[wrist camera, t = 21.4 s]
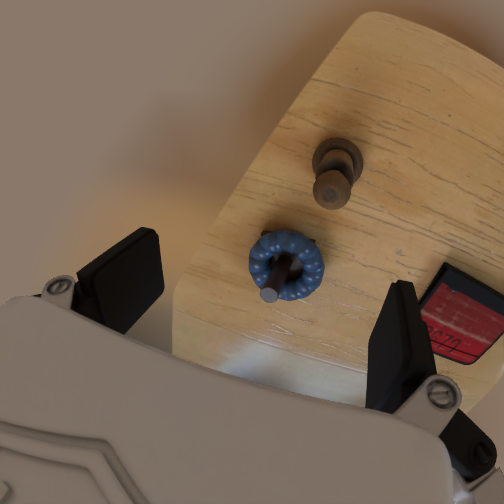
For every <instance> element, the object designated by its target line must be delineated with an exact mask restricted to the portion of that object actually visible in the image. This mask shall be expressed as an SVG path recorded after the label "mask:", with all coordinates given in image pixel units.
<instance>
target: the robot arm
mask: <svg viewBox="0 0 504 504" xmlns="http://www.w3.org/2000/svg"><path fill="white" fill-rule="evenodd" d="M77 277H78V280H79V281H78V282H75V280H74V278H73V277H71V276H68V275H63V276H58V277H56V278H53V279H51V280H50V281H48V283H46V285H45V287H44V288H43V291H42V294H38V295H33V296H18V297H14V298H12V299H10V300H9V301H7V302H6V303H4V304H3V305H1V306H0V504H504V475H503V473H502V471H501V469H500V467H499V468H498V469H496V468H495V466H494V465H495V462H496V458H497V451H496V447H495V445H494V443H493V442H492V440H491V439H490V438H489V437H488V436H487V435H486V434H485V433H484V432H483V431H482V430H481V429H480V428H479V427H478V426H477V425H476V424H475V423H474V422H473V421H472V420H470V419H469V418H468V417H467V416H466V415H465V414H464V413H463V412H462V411H461V410H460V409H459V406H460V404H461V400H462V395H461V391H460V389H459V387H458V385H457V384H456V383H455V382H454V381H453V380H452V379H451V378H449V377H447V376H444V375H437V371H436V365H435V360H434V354H433V349H432V344H431V340H430V335H429V330H428V326H427V323H426V322H425V321H423V320H422V316H421V312H420V308H419V304H418V300H417V296H416V292H415V288H414V285H413V283H412V282H408V281H403V280H397V282H396V283H392V284H391V286H390V288H389V291H388V294H387V296H386V299H385V302H384V304H383V307H382V309H381V312H380V314H379V317H378V319H377V322H376V324H375V326H374V329H373V331H372V333H371V336H370V339H369V343H368V372H367V391H366V404H365V408H363V407H358V406H354V405H349V404H344V403H338V402H333V401H329V400H324V399H319V398H315V397H311V396H306V395H302V394H298V393H294V392H289V391H285V390H281V389H277V388H273V387H270V386H266V385H262V384H259V383H255V382H252V381H248V380H245V379H242V378H238V377H235V376H232V375H229V374H225V373H222V372H219V371H216V370H213V369H210V368H207V367H204V366H201V365H198V364H196V363H193V362H190V361H187V360H185V359H182V358H179V357H176V356H174V355H171V354H169V353H166V352H163V351H161V350H158V349H156V348H153V347H151V346H149V345H146V344H144V343H141V342H139V341H137V340H134V339H132V338H129V337H127V336H125V335H124V334H125V333H126V332H127V331H128V330H129V329H130V328H131V326H133V324H135V322H136V321H137V320H138V319H139V318H140V317H141V316H142V315H143V314H144V313H145V312H146V311H147V309H148V308H149V307H150V306H151V305H152V304H153V303H154V302H155V301H156V300H157V299H158V298H159V297H160V296H161V294H162V293H163V291H164V278H163V271H162V263H161V254H160V245H159V237H158V234H157V233H156V232H155V230H154V229H150V228H145V227H141V228H139V229H137V230H136V231H135V232H133V233H131V234H130V235H129V236H127V237H126V238H124V239H123V240H121V241H120V242H118V243H117V244H115V245H114V246H113V247H111V248H110V249H108V250H107V251H106V252H104V253H103V254H102V255H100V256H98V257H97V258H96V259H94V260H93V261H92V262H90V263H89V264H87V265H86V266H85V267H83V268H82V269H81V270H79V271H78V272H77Z"/></svg>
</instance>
